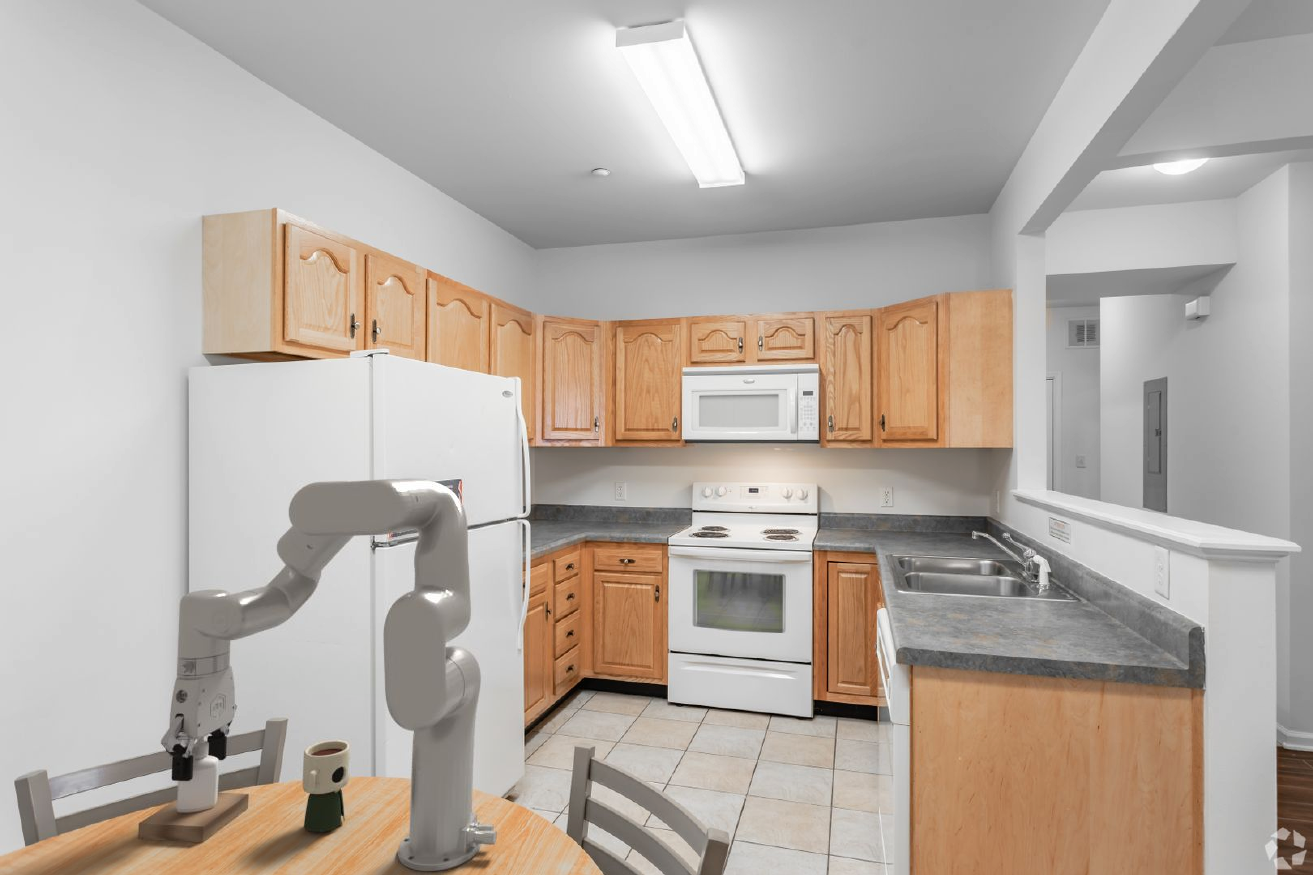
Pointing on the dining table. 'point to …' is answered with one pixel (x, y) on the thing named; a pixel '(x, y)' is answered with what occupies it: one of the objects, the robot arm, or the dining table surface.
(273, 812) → the dining table surface
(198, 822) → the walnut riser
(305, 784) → the character mug
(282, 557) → the robot arm
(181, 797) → the eye dropper bottle
